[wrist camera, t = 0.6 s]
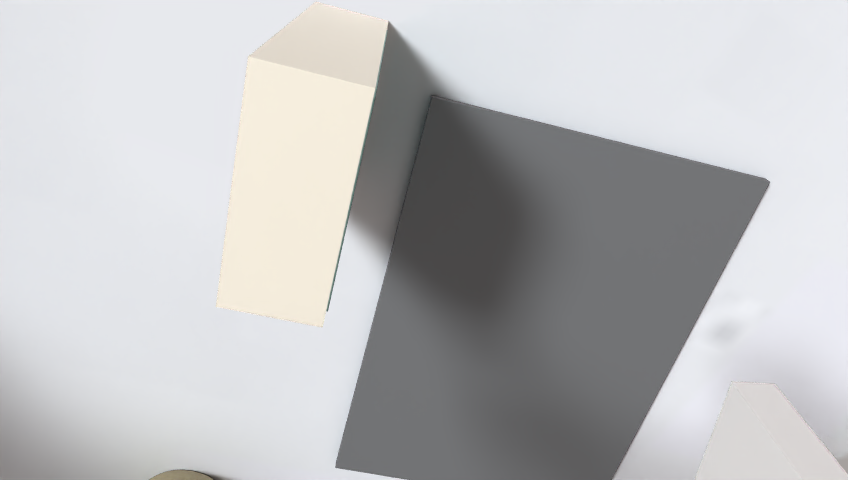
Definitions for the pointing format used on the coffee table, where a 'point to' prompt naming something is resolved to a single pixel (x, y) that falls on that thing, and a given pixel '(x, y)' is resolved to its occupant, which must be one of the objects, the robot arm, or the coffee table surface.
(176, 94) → the coffee table surface
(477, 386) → the mat
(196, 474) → the flower pot
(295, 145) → the slab
